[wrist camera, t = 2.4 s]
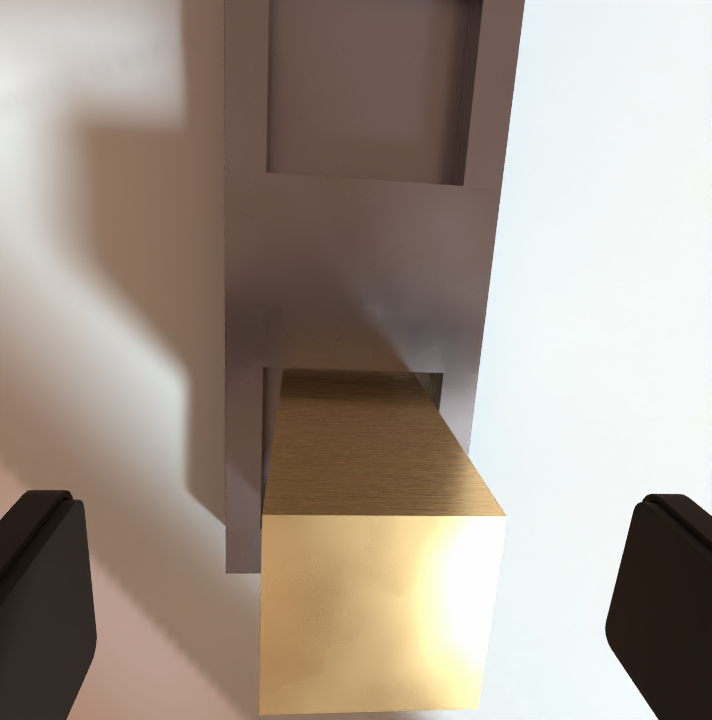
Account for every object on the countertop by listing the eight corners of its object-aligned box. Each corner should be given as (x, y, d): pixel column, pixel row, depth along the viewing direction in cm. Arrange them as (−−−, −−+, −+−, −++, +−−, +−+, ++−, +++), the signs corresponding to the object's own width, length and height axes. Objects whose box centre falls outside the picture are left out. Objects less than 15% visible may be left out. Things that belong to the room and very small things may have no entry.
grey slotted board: (438, 535, 19) (453, 572, 17) (234, 535, 18) (225, 573, 16) (507, -69, 14) (538, -111, 12) (235, -101, 14) (224, -151, 12)
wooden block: (403, 492, 18) (478, 708, 10) (279, 490, 17) (258, 715, 10) (414, 375, 17) (506, 516, 9) (283, 370, 16) (261, 515, 9)
